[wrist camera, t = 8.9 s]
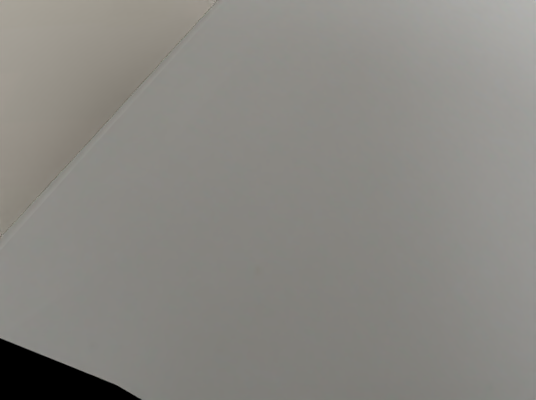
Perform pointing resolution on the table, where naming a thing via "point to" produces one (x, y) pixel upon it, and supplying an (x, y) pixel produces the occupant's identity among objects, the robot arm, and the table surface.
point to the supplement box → (294, 216)
